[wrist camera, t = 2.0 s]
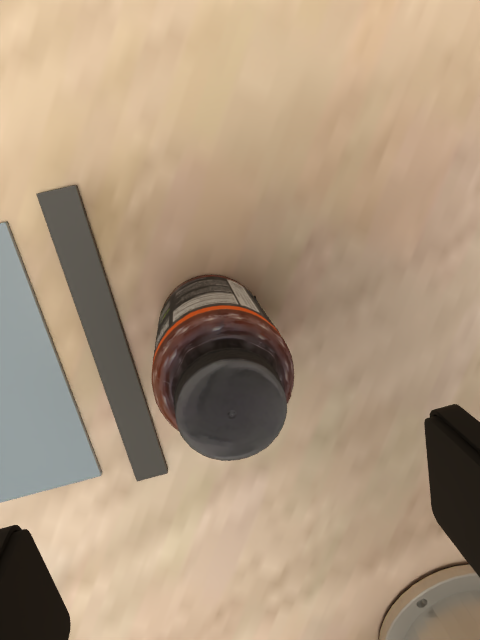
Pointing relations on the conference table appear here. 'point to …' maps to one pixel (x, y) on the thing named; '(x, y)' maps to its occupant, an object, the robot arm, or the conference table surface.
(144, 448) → the bar
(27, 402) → the pad
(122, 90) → the conference table surface
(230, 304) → the supplement bottle
